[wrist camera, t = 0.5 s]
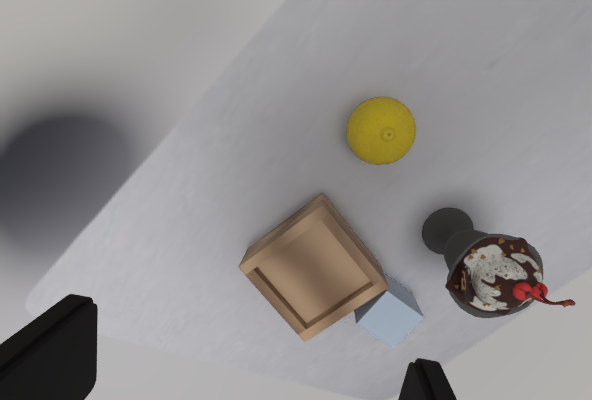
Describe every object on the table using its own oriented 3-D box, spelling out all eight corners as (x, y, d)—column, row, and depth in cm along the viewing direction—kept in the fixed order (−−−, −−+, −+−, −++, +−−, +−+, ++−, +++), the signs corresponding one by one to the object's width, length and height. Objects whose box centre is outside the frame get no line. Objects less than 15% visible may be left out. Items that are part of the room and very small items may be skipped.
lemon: (386, 166, 34) (405, 183, 26) (334, 144, 34) (338, 154, 26) (413, 112, 32) (442, 113, 25) (359, 88, 32) (371, 82, 24)
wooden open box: (322, 192, 35) (322, 204, 30) (381, 266, 36) (389, 287, 32) (248, 248, 37) (238, 267, 33) (306, 315, 38) (304, 342, 34)
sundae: (496, 220, 34) (624, 301, 20) (454, 272, 36) (543, 382, 21) (440, 186, 34) (530, 243, 19) (400, 241, 36) (455, 331, 21)
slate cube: (379, 269, 37) (387, 290, 32) (412, 293, 37) (424, 317, 33) (352, 299, 38) (356, 323, 33) (384, 322, 38) (392, 349, 34)
